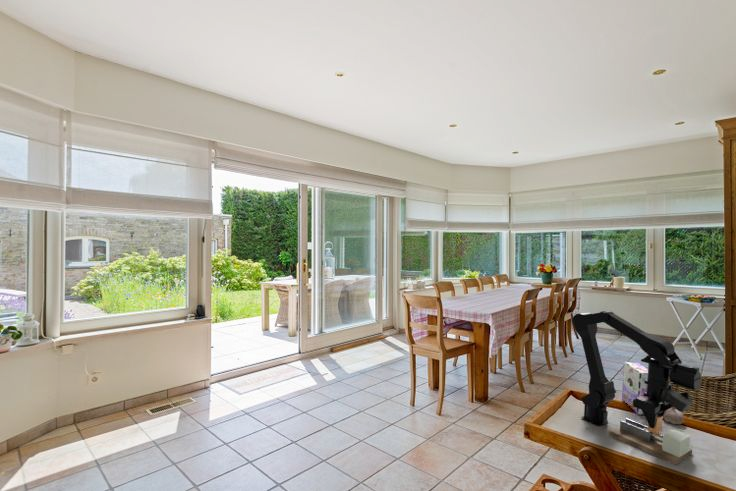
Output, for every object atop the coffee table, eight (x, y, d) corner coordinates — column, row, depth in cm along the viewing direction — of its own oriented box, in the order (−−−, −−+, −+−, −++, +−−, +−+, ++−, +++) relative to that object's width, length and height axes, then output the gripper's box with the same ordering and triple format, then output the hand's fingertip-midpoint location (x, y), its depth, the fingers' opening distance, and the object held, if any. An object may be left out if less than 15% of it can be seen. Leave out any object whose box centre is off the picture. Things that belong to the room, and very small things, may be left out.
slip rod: (640, 436, 128) (642, 413, 127) (646, 433, 130) (648, 410, 129) (677, 451, 119) (678, 427, 119) (682, 448, 121) (684, 424, 121)
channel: (619, 429, 133) (620, 420, 133) (625, 427, 135) (626, 418, 135) (649, 442, 125) (650, 432, 125) (655, 439, 127) (656, 429, 127)
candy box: (654, 416, 147) (657, 374, 147) (636, 414, 148) (639, 372, 148) (636, 401, 161) (639, 362, 160) (620, 399, 162) (623, 360, 161)
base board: (608, 434, 132) (609, 430, 132) (626, 426, 139) (626, 422, 139) (675, 464, 116) (675, 459, 116) (691, 454, 122) (692, 449, 122)
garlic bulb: (670, 415, 149) (671, 395, 149) (690, 425, 142) (692, 403, 142) (655, 417, 147) (656, 396, 147) (674, 427, 140) (676, 405, 140)
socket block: (661, 450, 121) (663, 434, 121) (671, 444, 125) (673, 429, 125) (679, 457, 117) (680, 441, 117) (689, 451, 121) (690, 435, 121)
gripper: (675, 394, 114) (671, 446, 114) (701, 383, 123) (697, 431, 124) (633, 380, 123) (630, 428, 124) (660, 371, 133) (657, 416, 133)
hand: (654, 426), depth 126 cm, fingers closed on slip rod, 4 cm apart
